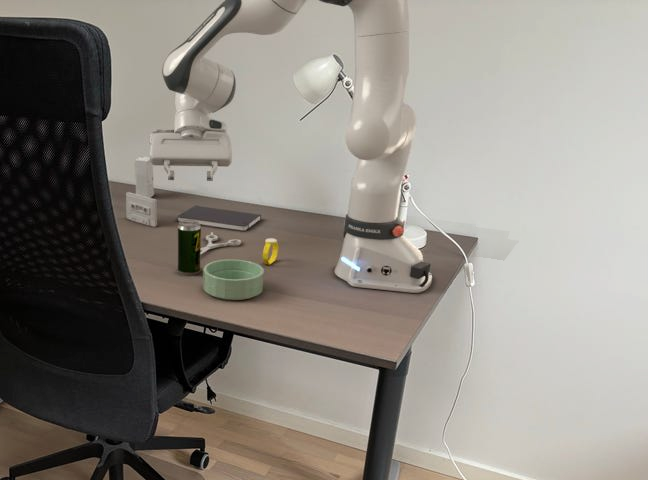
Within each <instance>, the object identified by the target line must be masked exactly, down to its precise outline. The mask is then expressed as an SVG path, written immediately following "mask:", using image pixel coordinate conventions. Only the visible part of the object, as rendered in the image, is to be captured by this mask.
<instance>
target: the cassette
mask: <svg viewBox="0 0 648 480" xmlns="http://www.w3.org/2000/svg"><path fill="white" fill-rule="evenodd" d="M141 207H142V208H141ZM125 211H126V212H125V213H126V219H127V220H130V221H133V222H136V223H138V224H143V225H146V226H150V227H154V228H155V227H157V226H158V199H156V198H152V197H151V198H149V197H145V196H141V195H138V194H136V193H134V192H130V191H127V192H125Z"/></svg>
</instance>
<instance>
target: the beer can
mask: <svg viewBox="0 0 648 480" xmlns="http://www.w3.org/2000/svg"><path fill="white" fill-rule="evenodd" d="M201 240H202V225H200V222H198V221H194V220H184V221H180V222H178V226H177V271H178V273H179V274H180V275H183V276H196V275H198V274H199V273H200V271H201V255H200V252H201V250H200V249H201V248H202V247H201V243H202V241H201Z"/></svg>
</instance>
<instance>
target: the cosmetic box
mask: <svg viewBox="0 0 648 480" xmlns="http://www.w3.org/2000/svg"><path fill="white" fill-rule="evenodd" d="M134 177H135V194H138V195H141V196H145V197H149V198H152V197H154V195H155V189H154V188H155V187H154V186H155V185H154V165H153V164H152V163H151V162H150V156H139V157H137V158H136V159H134Z"/></svg>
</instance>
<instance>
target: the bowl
mask: <svg viewBox="0 0 648 480" xmlns="http://www.w3.org/2000/svg"><path fill="white" fill-rule="evenodd" d="M264 275H265V269H264V268H263V266H261V265H260V264H259V263H256V262H253V261H249V260H244V259H232V258H230V259H219V260H214V261H211V262H208V263H206V264H205V265H203V269H202V289H203V291H204V292H205V293H207V294H208V295H209V296H211V297H214V298H216V299H219V300H220V299H221V300H226V301H243V300H248V299H249V300H250V299H252V298H254V297H257V296H258V295H260V294H261V293H263V289H264V278H265V277H264Z"/></svg>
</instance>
